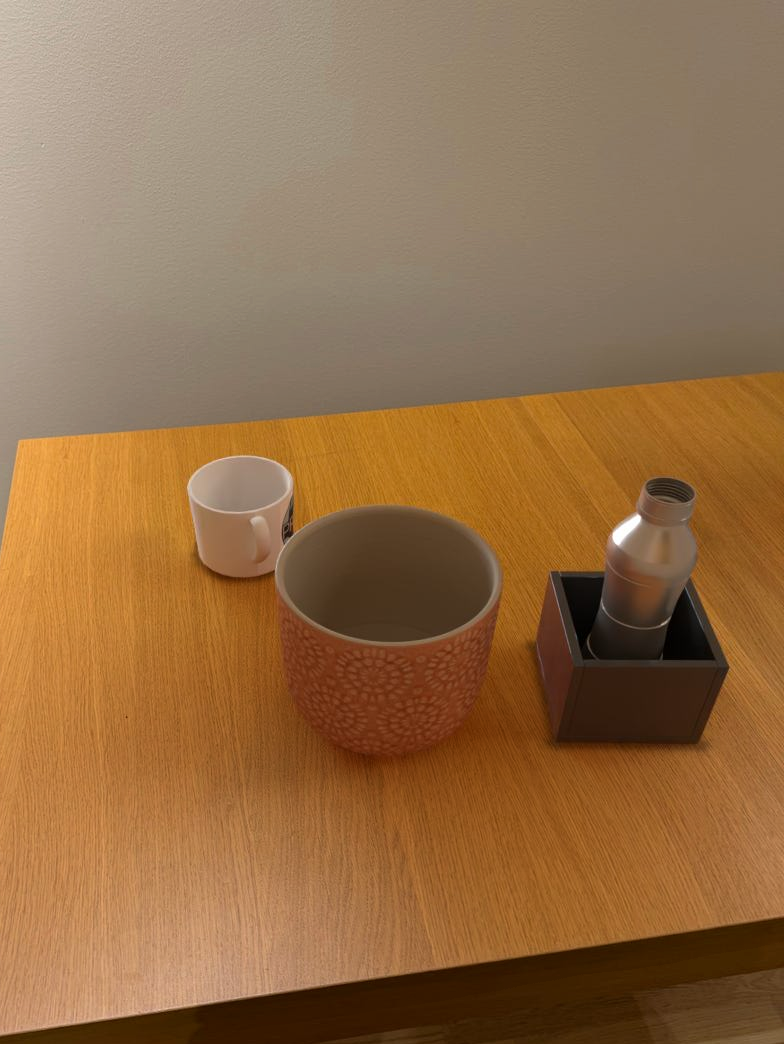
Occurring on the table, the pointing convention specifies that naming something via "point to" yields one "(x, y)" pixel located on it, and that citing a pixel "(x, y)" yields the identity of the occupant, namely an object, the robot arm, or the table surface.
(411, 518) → the planter
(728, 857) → the table surface
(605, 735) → the dark square storage bin
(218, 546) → the mug
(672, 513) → the silver metal bottle
